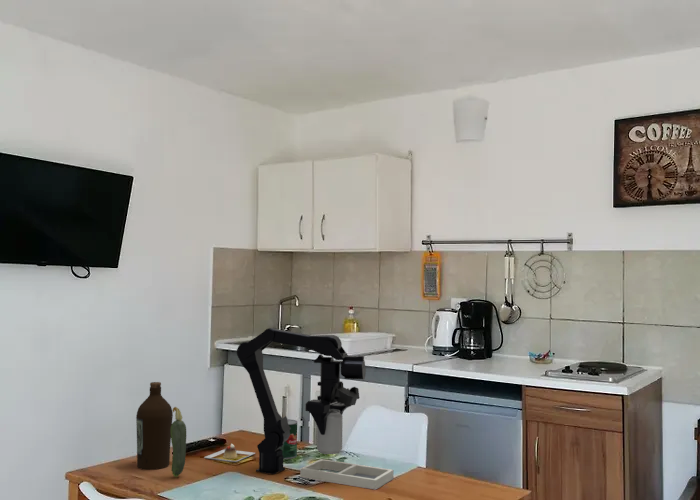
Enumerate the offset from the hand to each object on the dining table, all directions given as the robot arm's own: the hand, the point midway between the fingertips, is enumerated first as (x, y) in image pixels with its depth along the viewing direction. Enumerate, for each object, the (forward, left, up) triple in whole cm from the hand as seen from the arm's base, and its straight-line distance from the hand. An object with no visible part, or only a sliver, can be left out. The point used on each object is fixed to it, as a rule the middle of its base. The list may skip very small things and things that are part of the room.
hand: (329, 432), depth 195 cm
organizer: (+6, 0, -12) cm, 14 cm away
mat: (+12, 0, -12) cm, 17 cm away
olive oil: (-51, -18, -13) cm, 56 cm away
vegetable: (-36, -24, -13) cm, 45 cm away
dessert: (-38, +2, -13) cm, 40 cm away
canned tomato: (-23, +12, -13) cm, 29 cm away
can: (0, 0, -6) cm, 6 cm away
